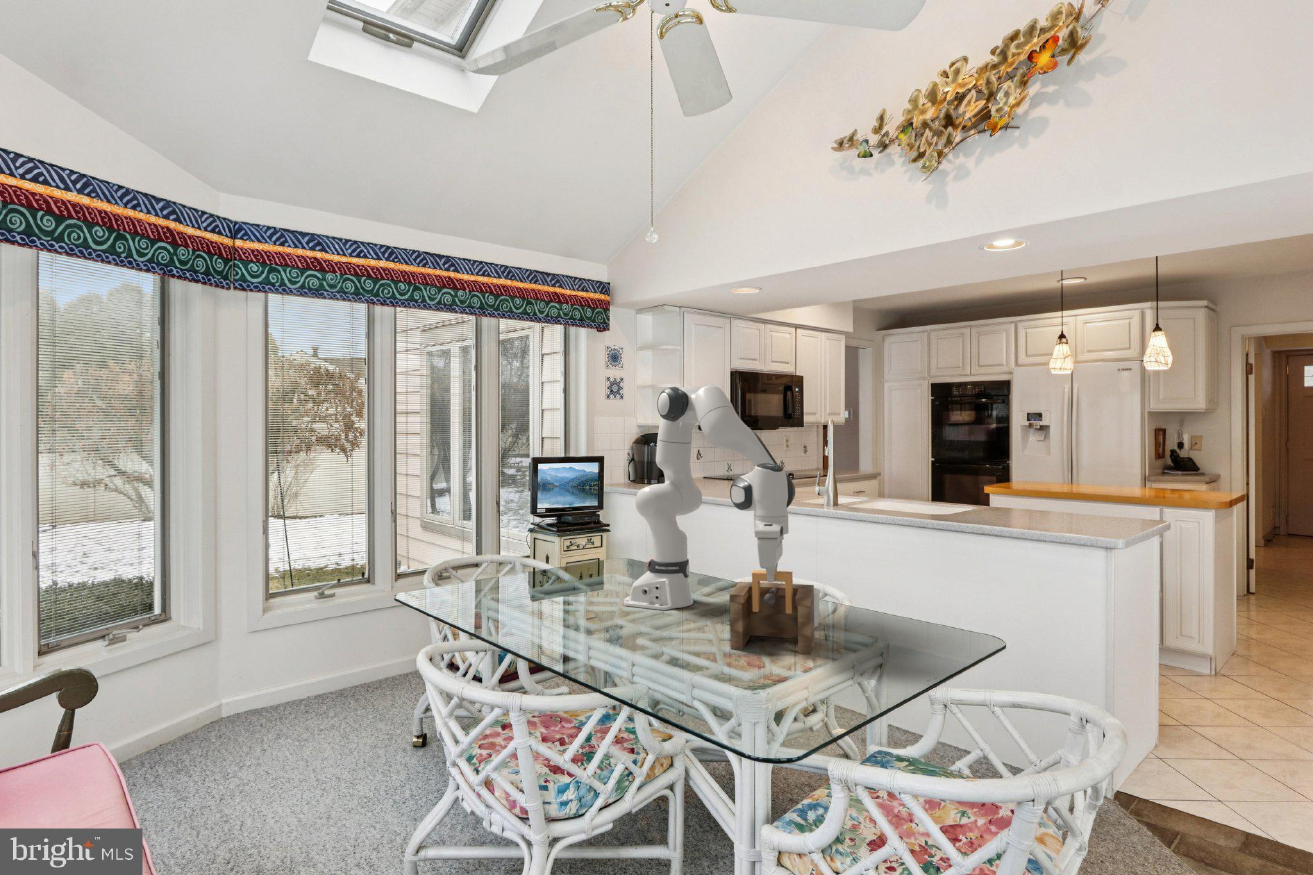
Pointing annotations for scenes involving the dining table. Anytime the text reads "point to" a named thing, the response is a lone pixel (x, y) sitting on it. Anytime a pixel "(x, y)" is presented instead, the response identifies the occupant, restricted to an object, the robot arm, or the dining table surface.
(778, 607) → the notched shelf
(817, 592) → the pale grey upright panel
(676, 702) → the dining table surface
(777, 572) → the wooden arch block
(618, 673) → the dining table surface
